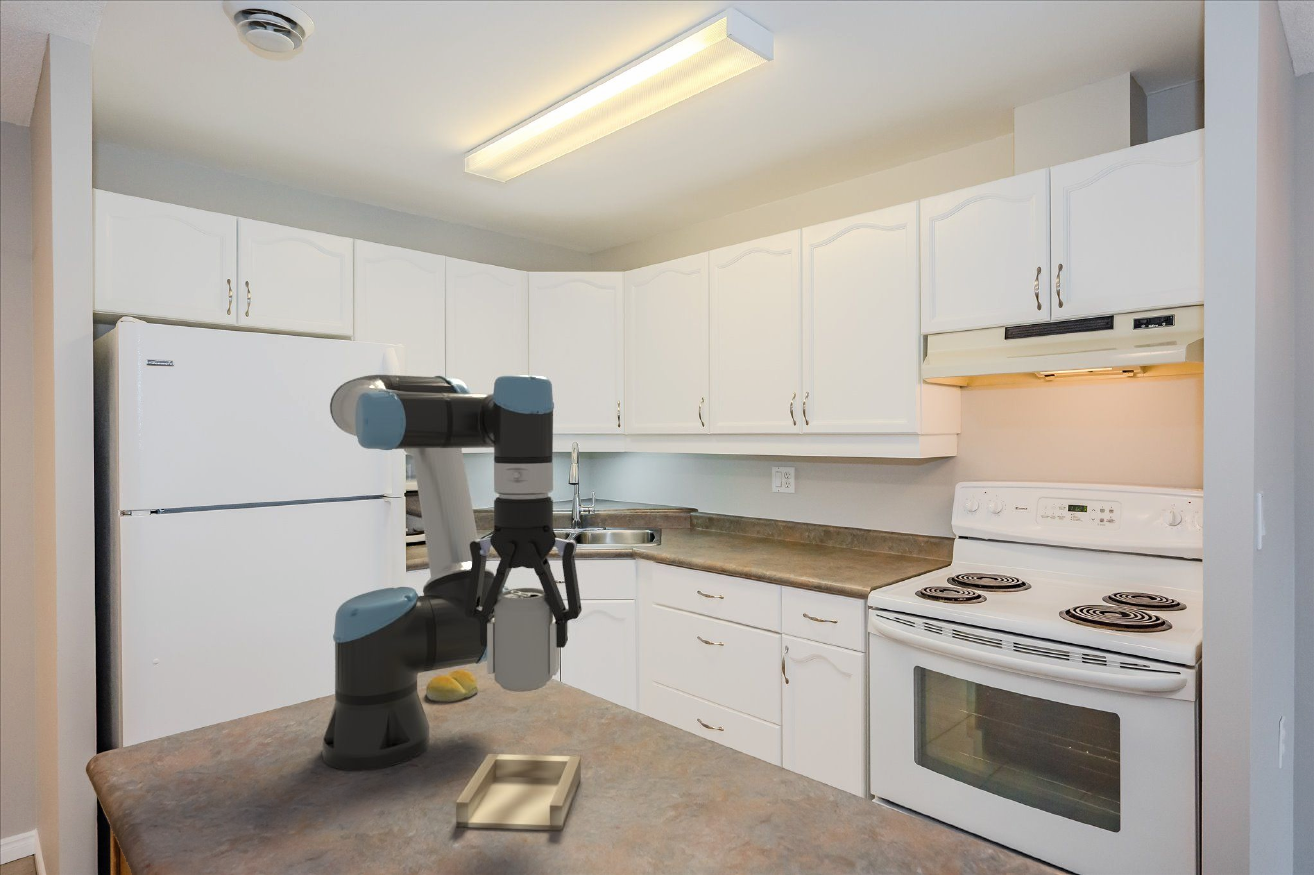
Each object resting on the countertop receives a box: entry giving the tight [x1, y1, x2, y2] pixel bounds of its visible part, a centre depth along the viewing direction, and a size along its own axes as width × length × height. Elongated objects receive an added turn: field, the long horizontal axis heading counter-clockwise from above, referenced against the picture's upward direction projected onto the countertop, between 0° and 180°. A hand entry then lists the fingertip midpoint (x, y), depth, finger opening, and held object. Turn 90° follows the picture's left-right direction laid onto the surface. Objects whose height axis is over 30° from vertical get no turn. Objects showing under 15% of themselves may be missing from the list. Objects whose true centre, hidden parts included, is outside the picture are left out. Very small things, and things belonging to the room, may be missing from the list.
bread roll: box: [425, 669, 479, 703], centre depth 131 cm, size 8×9×4 cm
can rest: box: [455, 753, 582, 831], centre depth 93 cm, size 13×13×3 cm
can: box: [493, 587, 554, 693], centre depth 93 cm, size 8×8×12 cm
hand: (523, 670), depth 93 cm, fingers closed on can, 7 cm apart
